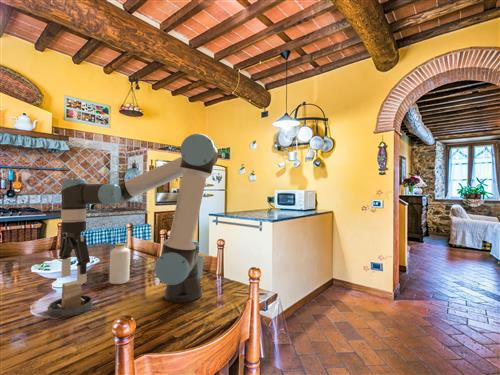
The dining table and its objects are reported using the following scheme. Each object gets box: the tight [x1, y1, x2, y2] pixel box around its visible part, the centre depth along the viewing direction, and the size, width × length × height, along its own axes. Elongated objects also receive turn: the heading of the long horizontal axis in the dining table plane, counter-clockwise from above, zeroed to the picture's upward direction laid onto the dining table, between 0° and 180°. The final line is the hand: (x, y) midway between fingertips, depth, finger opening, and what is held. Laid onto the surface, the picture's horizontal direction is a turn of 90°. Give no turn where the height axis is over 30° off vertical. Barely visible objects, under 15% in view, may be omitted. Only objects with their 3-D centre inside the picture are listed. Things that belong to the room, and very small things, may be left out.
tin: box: [47, 294, 94, 318], centre depth 93 cm, size 13×13×2 cm
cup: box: [198, 255, 205, 280], centre depth 129 cm, size 8×8×10 cm
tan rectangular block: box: [61, 280, 82, 310], centre depth 93 cm, size 3×5×9 cm, turn 144°
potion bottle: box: [109, 242, 131, 285], centre depth 122 cm, size 8×8×18 cm
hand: (73, 279), depth 94 cm, fingers open, 13 cm apart
